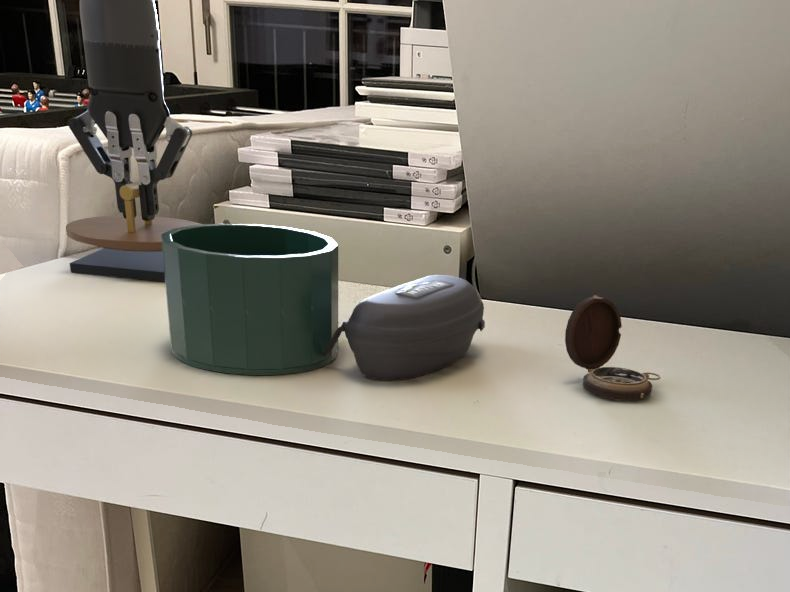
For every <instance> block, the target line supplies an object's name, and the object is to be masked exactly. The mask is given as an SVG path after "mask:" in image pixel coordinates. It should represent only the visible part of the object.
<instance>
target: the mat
mask: <svg viewBox="0 0 790 592" xmlns="http://www.w3.org/2000/svg"><path fill="white" fill-rule="evenodd" d="M69 268H70V273H74V274H83V275H93V276H101V277H102V276H103V277H113V278H123V279H133V280H141V281H143V280H144V281H151V282H163V283H165V276H164V264H163V253H162V251H160V252H136V251H122V250H114V249H107V248H100V249H99V250H96V251H94V252H91V253H89V254H87V255H85V256H83V257H80V258H78V259H75V260H73V261H72V262H69Z"/></svg>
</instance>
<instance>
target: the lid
mask: <svg viewBox="0 0 790 592" xmlns="http://www.w3.org/2000/svg"><path fill="white" fill-rule="evenodd" d="M140 184H141V181H140V180H137V181H133V183H131V184H128V185H124V186H122V187H121V188H120V196H121V197H122V198H123V199H124V200H125V210H126V219H125V218H124V217H123V215H104V216H103V215H101V216H92V217H85V218H80V219H76V220H73V221H71V222H68V223H67V224H66V225H65V232H66V235H67V237H68V238H69V239H70V240H73V241H75V242H79V243H82V244H86V245H90V246H94V247H99V248H101V249H103V248H107V249H114V250H122V251H136V252H160V251H162V242H161V234H163V233H165V232H167V231H169V230H171V229H174V228H180V227H186V226H193V225H203V224H202V223H201V222H196V221H192V220H187V219H183V218H173V217H165V216H155V218H154V219H153V220H151V221H144V220H142V216H141V215H136V217H135V216H134V207H133V200H132V199H135V200H136V199H137V198H140V196H139V186H138V185H140Z"/></svg>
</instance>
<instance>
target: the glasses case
mask: <svg viewBox="0 0 790 592" xmlns="http://www.w3.org/2000/svg"><path fill="white" fill-rule="evenodd" d="M484 312H485V306H484V302H483V299H481V297H480V296H479V295H478V293H477V290H476V289H475V287H474V286H473V285H472V284H471V283H470V282H468V280H466V279H465V278H461V277H458V276H455V275H447V274H433V275H432V274H431V275H427V276H425V277H421V278H417V279H415V280H412V281H408V282H406V283H402V284H399V285H397V286H394V287H391V288H388V289H386V290H383V291H381V292H378V293H376V294H373V295H371V296H369V297H366V298H364V299H362V300H361V301H359V302H358V303H357V304H356V305H355V307H354V308H353V310H352V312H351V315H350V316H349V318H348V320H343V321H342V324H341V325H340V326H338V328H337V329H336V331H335V333H334V335H333V337H332V339H331V341H330V343H329V344H328V346H327V348H326V350H325V351H324V356H328V355H329V354H330V352H331V351H332V349H333V347H334V345H335V343H336V342H337V340H338V341H339V338H340V337H341V334H342V333H343V332H344V335H345V338H346V339H347V343H348V345H349V348H350V350H351V351H352V353H353V356H354V359H355V362H356V365H357V367H358V370H359V372H360V373H361V374H362V375H363V376H364V377H366V378H368V379H372V380H378V381H379V380H381V381H400V380H408V379H413V378H418V377H421V376H425V375H429V374H431V373H435V372H437V371H441V370H443V369H446V368H448V367H449V366H452V364H454V363H456V362H457V361H459V360H460V359H462V358H463V357H464V356H465V355H466V354H467V353H468V352H469V349H470V347H471V345H472V341H473V338H474V336H475V334H476V332H477V331H478V330H480V332H483V330H484V329H485V327H486V322H485V319H483V318H484Z"/></svg>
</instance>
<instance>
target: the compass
mask: <svg viewBox="0 0 790 592" xmlns="http://www.w3.org/2000/svg"><path fill="white" fill-rule="evenodd" d="M622 326H623V325H622V317H621V314H620V312H619V309H618V307H617V306H616V305H615V304H614V302H613V301H612V300H609V299H608V298H606V297H601V296H599V295H593V296H591V297H587V298H585V299H584V300H582V301H581V302H579V303H578V304H577V305H576V307H574V309H573V310H572V312H571V314H570V316H569V317H568V320H567V323H566V327H565V331H564V332H565V333H564V343H565V348H566V352H567V354H568V357H569V359H570V360H571V361H572V362H573V364H575V365H576V366H578V367H580V368H583V369H586V370H587V373H586V374H585V375H583V377H582V384H581V385H582V388H584V390H586V391H587V392H588V393H590V394H592V395H594V396H597V397H600V398H601V397H602V398H603V399H609V400H617V401H638V400H643V399H645V398H647V397H649V396H650V395H651V394H652V391H653V386H654V385H653V384H652V381H658V380H660V379H661V375H660V374H657V373H655V372H639V371H636V370H633V369H631V368H625V367H619V366H618V367H617V366H604V365H606V364H607V363H608V362H609V361H610V360H611V359H612V357H613V356H614V355H615V353H616V351H617V349H618V347H619V344H620V341H621V336H622V333H620V329H621V328H623V327H622ZM650 375H652V376H656V377H650ZM649 380H650V381H649Z"/></svg>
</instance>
